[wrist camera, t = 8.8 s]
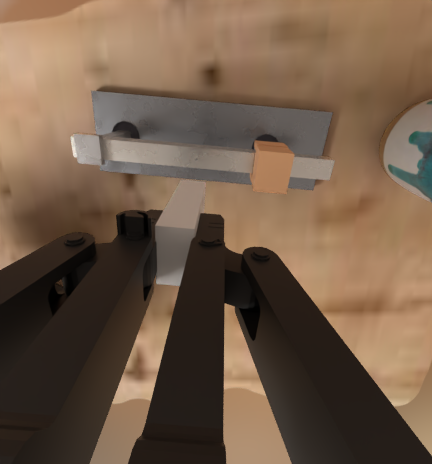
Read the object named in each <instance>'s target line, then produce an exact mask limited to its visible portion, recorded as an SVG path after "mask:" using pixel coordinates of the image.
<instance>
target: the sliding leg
mask: <svg viewBox="0 0 432 464" xmlns="http://www.w3.org/2000/svg"><path fill="white" fill-rule="evenodd" d="M254 150H256V153H255V160H254V167H253V173H250V180H251V183H252V187H253V191H257V192H268V193H279V194H287V189H288V184H289V179H290V174H291V169H292V165H293V160H294V155H295V154H294V153H293V152H292V151H291V150H290V149H289V148H288V146H287V145H285V144H284V143H279V142H268V141H257V140H255V142H254Z"/></svg>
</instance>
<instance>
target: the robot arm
mask: <svg viewBox="0 0 432 464" xmlns="http://www.w3.org/2000/svg"><path fill="white" fill-rule="evenodd" d="M205 189H206V182H203V181H192V180H180V182H179V184H178V186H177V187H176V189H175V191H174V193H173V195H172V196H171V198H170V200H169V202H168V203H167V205H166V207H165V209H164V211H162V210H149V211H147V212H145V211H140V210H130V211H124V212H121V213H119V214H117V215H116V219H117V230H118V235H117V237H116V238H115V239H114V240H113V242H112V243H102V244H95V238H94V237H93V235H90V234H88V233H82V232H78V233H77V232H76V233H71V234H68V235H65V236H62V237H60V238H58V239H56V240H54V241H52V242H51V243H49V244H47V245H45V246H43V247H42V248H40V249H38V250H36V251H34V252H32V253H31V254H29V255H27V256H25V257H23V258H22V259H20V260H18V261H16V262H14V263H12V264H11V265H9V266H7V267H5V268H3V269H2V270H0V464H89V463H90V460H91V458H92V455H93V452H94V450H95V447H96V444H97V442H98V439H99V436H100V434H101V431H102V428H103V426H104V423H105V420H106V417H107V415H108V412H109V409H110V407H111V404H112V401H113V399H114V396H115V393H116V391H117V388H118V385H119V383H120V380H121V377H122V375H123V372H124V369H125V366H126V364H127V361H128V358H129V356H130V353H131V350H132V348H133V345H134V342H135V340H136V337H137V334H138V332H139V329H140V326H141V324H142V321H143V318H144V315H145V313H146V310H147V307H148V305H149V302H150V299H151V297H152V294H153V290H154V284H153V281H154V278H155V276H156V284H162V285H174V286H180V288H179V292H178V296H177V300H176V304H175V308H174V312H173V316H172V320H171V324H170V328H169V332H168V336H167V339H166V343H165V347H164V351H163V355H162V359H161V363H160V367H159V371H158V375H157V379H156V383H155V387H154V391H153V395H152V399H151V403H150V407H149V411H148V415H147V419H146V423H145V427H144V430H143V433H142V435H141V436H140V437H139V438H138V439H137V440H136V442H135V445H134V447H133V449H132V452H131V456H130V459H129V462H128V464H226V451H225V445H224V441H223V394H224V393H223V391H224V303H226V304H229V305H232V306H235V313H236V316H237V318H238V321H239V324H240V326H241V329H242V332H243V334H244V337H245V340H246V342H247V345H248V348H249V350H250V353H251V356H252V358H253V361H254V364H255V366H256V369H257V372H258V374H259V377H260V380H261V382H262V385H263V388H264V390H265V393H266V396H267V398H268V401H269V404H270V406H271V409H272V412H273V414H274V417H275V420H276V422H277V425H278V428H279V430H280V433H281V436H282V438H283V441H284V444H285V446H286V449H287V452H288V454H289V457H290V460H291V462H292V464H432V456H431V454H430V453H429V452H428V451H427V449H426V448H425V447H424V445H423V444H422V443H421V442H420V440H419V439H418V437H417V436H416V435H415V434H414V432H413V431H412V430H411V428H410V427H409V426H408V424H407V423H406V422H405V421H404V419H403V418H402V417H401V415H400V414H399V413H398V411H397V410H396V409H395V408H394V406H393V405H392V404H391V402H390V401H389V400H388V398H387V397H386V396H385V395H384V393H383V392H382V391H381V389H380V388H379V387H378V385H377V384H376V383H375V382H374V380H373V379H372V378H371V376H370V375H369V374H368V372H367V371H366V370H365V369H364V367H363V366H362V365H361V363H360V362H359V361H358V359H357V358H356V357H355V356H354V354H353V353H352V352H351V350H350V349H349V348H348V346H347V345H346V344H345V343H344V341H343V340H342V339H341V337H340V336H339V335H338V333H337V332H336V331H335V329H334V328H333V327H332V326H331V324H330V323H329V322H328V320H327V319H326V318H325V316H324V315H323V314H322V313H321V311H320V310H319V309H318V307H317V306H316V305H315V303H314V302H313V301H312V300H311V298H310V297H309V296H308V294H307V293H306V292H305V290H304V289H303V288H302V287H301V285H300V284H299V283H298V281H297V280H296V279H295V277H294V276H293V275H292V274H291V272H290V271H289V270H288V268H287V267H286V266H285V264H284V263H283V262H282V261H281V259H280V258H279V257H278V255H277V254H276V253H274V252H273V251H271V250H269V249H267V248H263V247H250V248H247V249H245V250H244V252H243V254H238V253H235V252H233V251H231V250H229V249H228V248H226V246H225V243H224V219H223V217H222V216H221V215H216V214H205V213H204V204H205ZM60 279H62V282H63V287H64V288H63V287H61V286H59V285H57V284H55V283H56V282H58V281H59V280H60Z"/></svg>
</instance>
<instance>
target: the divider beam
mask: <svg viewBox="0 0 432 464" xmlns="http://www.w3.org/2000/svg"><path fill="white" fill-rule="evenodd" d="M70 137H71V144H72V150H73V157H77V160H78V163H80V164H91V165H104V164H105V160H113V161H124V162H134V163H145V164H156V165H167V166H178V167H189V168H200V169H210V170H221V171H232V172H243V173H253V167H254V160H255V153H256V150H253V149H242V148H231V147H220V146H209V145H198V144H187V143H176V142H165V141H154V140H144V139H133V138H131V131H126V130H118V131H115V132H111V133H108V134H105V135H98V134H87V133H74V135H73V136H70ZM294 154H295V155H294V160H293V165H292V169H291V174H290V177H297V178H308V179H319V180H330V177H331V173H332V170H333V166H334V162H335V160H333V159H332V158H330V157H329V156H319V155H308V154H297V153H294Z"/></svg>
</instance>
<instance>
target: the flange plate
mask: <svg viewBox="0 0 432 464" xmlns="http://www.w3.org/2000/svg"><path fill="white" fill-rule="evenodd" d="M91 93H92V102H93V111H94V120H95V128H96V134H98V135H105V134H108V133H111V132H115V131H118V130H126V131H131V138H133V139H144V140H154V141H165V142H176V143H187V144H198V145H209V146H220V147H231V148H242V149H253V150H254V142H255V140H257V141H268V142H279V143H284V144H285V145H287V146H288V148H289V149H290V150H291V151H292V152H293V153H297V154H308V155H319V156H322V153H323V149H324V145H325V141H326V137H327V133H328V129H329V125H330V121H331V117H332V114H333V112H324V111H313V110H302V109H291V108H280V107H269V106H258V105H247V104H235V103H224V102H213V101H202V100H191V99H180V98H169V97H158V96H147V95H136V94H124V93H113V92H102V91H91ZM100 171H110V172H120V173H131V174H142V175H153V176H164V177H174V178H185V179H196V180H207V181H218V182H228V183H239V184H250V185H252V183H251V180H250V173H243V172H232V171H221V170H210V169H200V168H189V167H178V166H167V165H156V164H145V163H134V162H124V161H113V160H105V164H104V165H100ZM315 181H316V179H308V178H297V177H290V179H289V184H288V188H293V189H304V190H313V189H314V185H315Z"/></svg>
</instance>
